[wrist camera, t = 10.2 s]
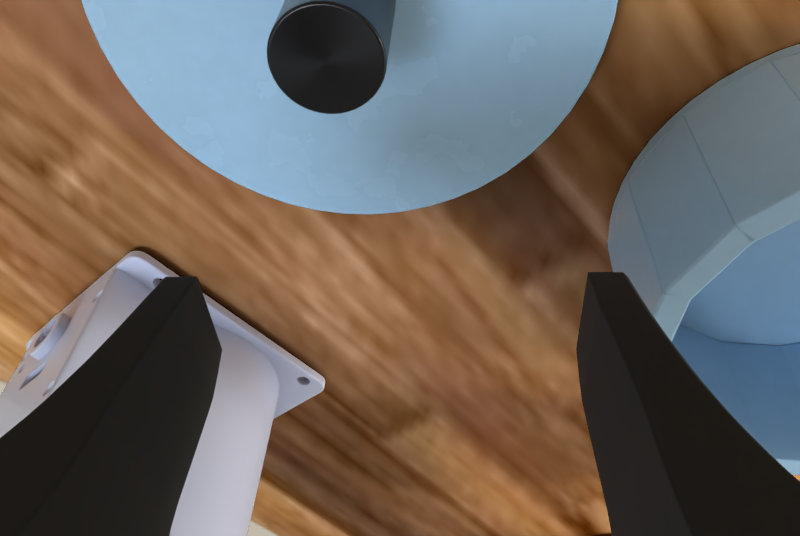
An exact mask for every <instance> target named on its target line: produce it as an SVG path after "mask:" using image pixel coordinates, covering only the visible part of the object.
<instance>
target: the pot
mask: <svg viewBox="0 0 800 536" xmlns="http://www.w3.org/2000/svg"><path fill="white" fill-rule="evenodd" d="M607 247H608V251H609V256H610V262H611V266H612V270H613V272H623V273H624V274H625V275H627V276H628V278H629V279H630V281H631V283H632V284H633V286H634V287H635V289H636V291H637V292H638V294H639V295H640V297H641V298H642V300H643V302H644V303H645V305H646V306H647V308H648V309H649V311H650V312H651V314H652V315H653V316H654V318H655V319H656V321H657V322H658V324H659V325H660V327H661V328H662V329H663V331H664V332H665V334H666V335H667V336H668V338H669V339H670V340H671V342H672V343H673V344H674V346H675V347H676V348H677V350H678V351H679V352H680V354H681V355H682V356H683V357H684V359H685V360H686V361H687V363H688V364H689V365H690V367H691V368H692V369H693V370H694V372H695V373H696V374H697V375H698V377H699V378H700V379H701V380H702V381H703V383H704V384H705V385H706V386H707V387H708V389H709V390H710V391H711V392H712V393H713V394H714V396H715V397H716V398H717V399H718V400H719V401H720V402H721V404H722V405H723V406H724V407H725V408H726V409H727V410H728V411H729V413H730V414H731V415H732V416H733V417H734V418H735V419H736V420H737V421H738V422H739V423H740V424H741V425H742V427H743V428H744V429H745V430H746V431H747V432H748V433H749V434H750V435H751V436H752V437H753V438H754V439H755V440H756V441H757V442H758V443H759V444H760V445H761V446H762V447H763V448H764V449H765V450H766V451H767V452H768V453H769V454H770V455H772V456H773V457H774V458H775V459H776V460H777V461H778V462H779V463H780V464H781V465H782V466H783V467H784V468H785V469H786V470H787V471H788V472H789V473H791V474H792V475H800V44H797V45H794V46H791V47H788V48H785V49H782V50H779V51H777V52H775V53H773V54H770V55H768V56H766V57H763V58H761V59H759V60H757V61H754V62H752V63H750V64H748V65H746V66H744V67H743V68H741V69H739V70H737V71H735V72H734V73H732V74H730V75H728V76H727V77H725V78H723V79H721V80H720V81H718V82H717V83H715V84H714V85H712V86H711V87H709V88H708V89H707V90H705V91H704V92H702V93H701V94H699V95H698V96H697V97H695V98H694V99H692V100H691V101H690V102H689V103H688V104H687V105H685V106H684V107H683V108H682V109H681V110H680V111H678V112H677V113H676V114H675V115H674V116H673V117H671V118H670V119H669V120H668V121H667V122H666V124H665V125H664V126H663V127H662V128H661V129H660V130H659V131H658V132H657V133H656V134H655V135H654V136H653V137H652V138H651V139H650V141H649V142H648V143H647V145H646V146H645V147H644V149H643V150H642V151H641V153H640V154H639V155H638V157H637V158H636V159H635V161H634V163H633V164H632V166H631V168H630V170H629V171H628V173H627V175H626V177H625V178H624V180H623V182H622V184H621V187H620V189H619V192H618V194H617V197H616V199H615V202H614V205H613V209H612V214H611V218H610V222H609V234H608V244H607Z"/></svg>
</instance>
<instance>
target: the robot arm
mask: <svg viewBox="0 0 800 536" xmlns="http://www.w3.org/2000/svg"><path fill="white" fill-rule="evenodd" d="M158 278H159V279H163V280H162V281H161V280H159V279H158ZM26 347H27V349H28V350H27V351H26V353H25V355H24V356H23V358H22V360H21V361H20V363H19V365H18V367H17V368H16V370H15V372H14V373H13V375H12V377H11V378H10V380H9V382H8V384H7V385H6V387H5V389H4V390H3V392H2V394H1V396H0V536H247V533H248V529H249V524H250V520H251V516H252V511H253V507H254V502H255V498H256V494H257V489H258V485H259V480H260V476H261V471H262V467H263V462H264V458H265V454H266V449H267V445H268V440H269V436H270V431H271V427H272V423H273V419H274V418H276V417H278V416H280V415H281V414H283V413H285V412H287V411H288V410H290V409H292V408H294V407H296V406H297V405H299V404H301V403H303V402H304V401H306V400H308V399H310V398H312V397H313V396H315V395H317V394H319V393H320V392H322V391H323V390H324V386H325V379H324V377H323V376H322V375H320V374H319V373H317V372H316V371H314V370H313V369H311V368H310V367H309V366H307V365H306V364H304V363H303V362H301V361H300V360H299V359H297V358H296V357H294V356H293V355H291V354H290V353H289V352H287V351H286V350H284V349H283V348H281V347H280V346H279V345H277V344H276V343H274V342H273V341H271V340H270V339H269V338H267V337H266V336H264V335H263V334H261V333H260V332H258V331H257V330H256V329H254V328H253V327H251V326H250V325H248V324H247V323H246V322H244V321H243V320H241V319H240V318H238V317H237V316H236V315H234V314H233V313H231V312H230V311H228V310H227V309H226V308H224V307H223V306H221V305H220V304H218V303H217V302H216V301H214V300H213V299H211V298H210V297H208V296H207V295H205V294H204V293H203V292H202V290H201V287H200V284H199V281H198V278H197V277H180V276H178V275H177V274H175V273H174V272H173V271H171V270H170V269H168V268H167V267H165V266H164V265H163V264H161V263H160V262H158V261H157V260H155V259H154V258H152V257H151V256H150V255H148V254H146V253H144V252H141V251H131V252H129V253H128V254H127V255H125V256H124V257H123V258H122V259H121V260H120V261H119V262H117V263H116V264H115V265H114V266H113V267H112V268H110V269H109V270H108V271H107V272H106V273H105V274H103V275H102V276H101V277H100V278H99V279H98V280H97V281H95V282H94V283H93V284H92V285H91V286H90V287H88V288H87V289H86V290H85V291H84V292H83V293H81V294H80V295H79V296H78V297H77V298H76V299H74V300H73V301H72V302H71V303H70V304H69V305H68V306H66V307H65V308H64V309H63V310H62V311H61V312H59V313H58V314H56V315H55V316H54V317H53V318H52V319H51V320H50V321H49V322H48V323H47V324H46V325H44V326H43V327H42V328H41V329H40V330H39V331H37V332H36V333H35V334H34V335H33V336H32V337H31V338H30V340H29V341H28V343H27V345H26ZM576 350H577V359H578V369H579V379H580V387H581V396H582V402H583V407H584V411H585V416H586V420H587V424H588V429H589V433H590V438H591V442H592V446H593V450H594V455H595V459H596V463H597V468H598V472H599V476H600V480H601V485H602V489H603V493H604V498H605V502H606V506H607V510H608V516H609V521H610V526H611V532H612V536H800V481H799V480H797V479H796V478H795V477H794V476H793V475H792V474H791V473H789V472H788V471H787V470H786V469H785V468H784V467H783V466H782V465H781V464H780V463H779V462H778V461H777V460H776V459H775V458H774V457H773V456H772V455H770V454H769V453H768V452H767V451H766V450H765V449H764V448H763V447H762V446H761V445H760V444H759V443H758V442H757V441H756V440H755V439H754V438H753V437H752V436H751V435H750V434H749V433H748V432H747V431H746V430H745V429H744V428H743V427H742V425H741V424H740V423H739V422H738V421H737V420H736V419H735V418H734V417H733V416H732V415H731V414H730V413H729V411H728V410H727V409H726V408H725V407H724V406H723V405H722V404H721V402H720V401H719V400H718V399H717V398H716V397H715V396H714V394H713V393H712V392H711V391H710V390H709V389H708V387H707V386H706V385H705V384H704V383H703V381H702V380H701V379H700V378H699V377H698V375H697V374H696V373H695V372H694V370H693V369H692V368H691V367H690V365H689V364H688V363H687V361H686V360H685V359H684V357H683V356H682V355H681V354H680V352H679V351H678V350H677V348H676V347H675V346H674V344H673V343H672V342H671V340H670V339H669V338H668V336H667V335H666V334H665V332H664V331H663V329H662V328H661V327H660V325H659V324H658V322H657V321H656V319H655V318H654V316H653V315H652V314H651V312H650V311H649V309H648V308H647V306H646V305H645V303H644V302H643V300H642V298H641V297H640V295H639V294H638V292H637V291H636V289H635V287H634V286H633V284H632V283H631V281H630V279H629V278H628V276H627V275H625V274H624V273H623V272H588V276H587V283H586V289H585V296H584V303H583V309H582V316H581V322H580V329H579V335H578V342H577V349H576Z"/></svg>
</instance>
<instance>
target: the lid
mask: <svg viewBox="0 0 800 536" xmlns="http://www.w3.org/2000/svg"><path fill="white" fill-rule="evenodd" d="M82 3H83V7H84V10H85V13H86V16H87V18H88V20H89V23H90V25H91V27H92V29H93V32H94V34H95V36H96V38H97V40H98V43H99V45H100V47H101V49H102V51H103V52H104V54H105V56H106V57H107V59H108V61H109V63H110V64H111V66H112V68H113V69H114V71H115V73H116V75H117V76H118V78H119V79H120V81H121V82H122V83H123V85H124V86H125V87H126V89H127V90H128V91H129V93H130V94H131V95H132V97H133V98H134V99H135V101H136V102H137V103H138V105H139V106H140V107H141V108H142V109H143V110H144V111H145V112H146V113H147V115H148V116H149V117H150V118H151V119H152V120H153V121H154V122H155V123H156V124H157V125H158V127H159V128H160V129H162V130H163V131H164V132H165V133H166V134H167V135H168V136H169V137H170V138H172V139H173V140H174V141H175V142H176V143H177V144H178V145H179V146H181V147H182V148H183V149H184V150H185V151H187V152H188V153H190V154H191V155H192V156H194V157H195V158H197V159H198V160H199V161H201V162H202V163H203V164H205V165H206V166H208V167H209V168H211V169H212V170H214V171H216V172H218V173H219V174H221V175H223V176H225V177H226V178H228V179H230V180H231V181H233V182H235V183H237V184H239V185H242V186H244V187H246V188H248V189H250V190H253V191H255V192H257V193H259V194H261V195H264V196H267V197H270V198H273V199H276V200H279V201H282V202H285V203H288V204H292V205H296V206H300V207H305V208H309V209H313V210H319V211H327V212H335V213H343V214H383V213H395V212H403V211H409V210H414V209H419V208H424V207H429V206H432V205H435V204H439V203H442V202H445V201H448V200H451V199H455V198H457V197H459V196H462V195H464V194H466V193H469V192H471V191H473V190H475V189H478V188H480V187H482V186H484V185H485V184H487V183H489V182H491V181H492V180H494V179H496V178H498V177H499V176H501V175H503V174H504V173H506V172H508V171H509V170H510V169H512V168H513V167H514V166H516V165H517V164H518V163H520V162H521V161H522V160H524V159H525V158H526V157H528V156H529V155H530V154H531V153H532V152H533V151H534V150H535V149H537V148H538V147H539V146H540V145H541V144H542V143H543V142H544V141H545V140H546V139H547V138H548V137H549V136H550V135H551V134H552V133H553V132H554V131H555V129H556V128H557V127H558V126H559V125H560V123H561V122H562V121H563V120H564V119H565V117H566V116H567V115H568V114H569V113H570V111H571V110H572V109H573V107H574V105H575V104H576V102H577V101H578V99H579V98H580V96H581V95H582V93H583V91H584V90H585V88H586V87H587V85H588V84H589V82H590V80H591V78H592V76H593V73H594V71H595V69H596V67H597V65H598V63H599V61H600V59H601V57H602V55H603V52H604V50H605V47H606V44H607V41H608V37H609V34H610V31H611V28H612V25H613V22H614V19H615V14H616V9H617V4H618V0H82Z"/></svg>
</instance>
